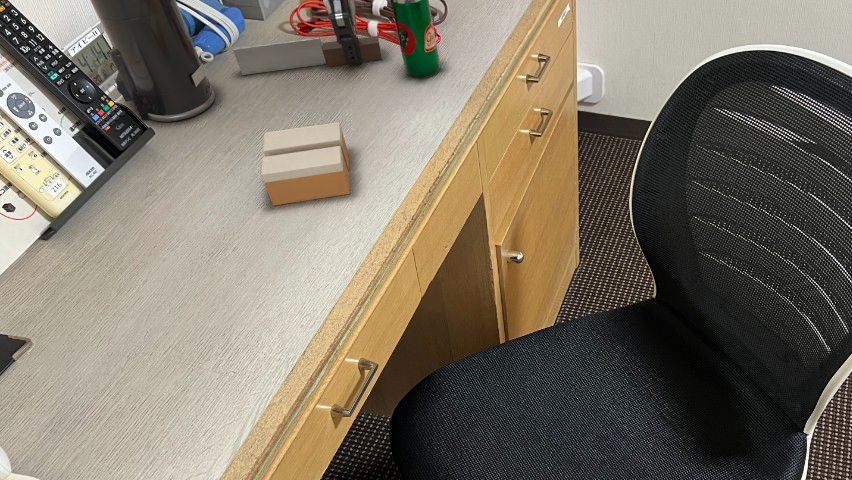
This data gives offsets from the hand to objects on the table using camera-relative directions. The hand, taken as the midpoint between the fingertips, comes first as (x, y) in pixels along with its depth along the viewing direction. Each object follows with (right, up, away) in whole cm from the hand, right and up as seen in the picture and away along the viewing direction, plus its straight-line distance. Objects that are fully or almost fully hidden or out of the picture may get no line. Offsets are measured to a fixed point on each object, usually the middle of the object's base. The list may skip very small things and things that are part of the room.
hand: (354, 59), depth 121 cm
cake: (0, -20, -18) cm, 27 cm away
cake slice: (+1, -23, -21) cm, 32 cm away
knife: (-6, -1, -1) cm, 6 cm away
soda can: (+11, -3, -2) cm, 11 cm away
